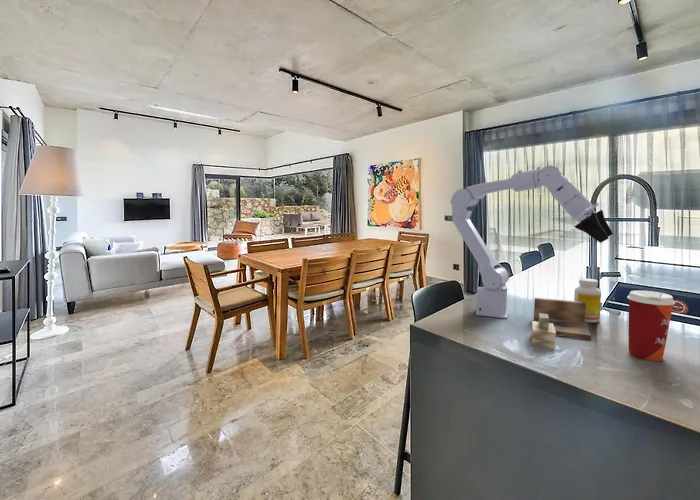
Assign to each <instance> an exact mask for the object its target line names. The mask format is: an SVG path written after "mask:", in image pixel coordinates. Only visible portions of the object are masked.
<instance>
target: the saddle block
mask: <svg viewBox="0 0 700 500" xmlns="http://www.w3.org/2000/svg"><path fill="white" fill-rule="evenodd" d="M556 337H557V335H556V332H555V328H554V325H553V323H549V317H548V314H542V313H539V322H537V321H534V320H532V321H531V344H532V346H539V347H546V348H551V349H556V341H557V340H556Z"/></svg>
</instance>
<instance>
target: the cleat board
mask: <svg viewBox="0 0 700 500" xmlns="http://www.w3.org/2000/svg"><path fill="white" fill-rule="evenodd" d="M533 303H534V304H533V321H537V322H539V313H542V314H548V317H549V323H553V325H554V328H555V332H556V336H560V337H568V338H576V339H583V340H584V339H585V340H592V334H591V332H590V330H589V328H588V326H587V325H586V322H585V309H586V303H585V302H580V301H574V300H567V299H555V298H544V297H534V302H533Z"/></svg>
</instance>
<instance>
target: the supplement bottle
mask: <svg viewBox="0 0 700 500" xmlns="http://www.w3.org/2000/svg"><path fill="white" fill-rule="evenodd" d="M578 284H579V285H578V286H576V287H575V288H574V295H573V296H574V297H573V298H574V299H573V301H580V302H585V303H586V309H585V323H589V324H590V323H591V324H595V323H598V322H599V321H600V314H601V313H600V312H601V301H602V300H601V296H602V291H601V290H600V289H599V288H598V287H597V286H598V285H599V281H598V279H594V278H585V277H584V278H579V280H578Z"/></svg>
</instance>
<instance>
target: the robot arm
mask: <svg viewBox="0 0 700 500" xmlns="http://www.w3.org/2000/svg"><path fill="white" fill-rule="evenodd" d="M541 187H546V189H547V191H548V192H549V193H550V194H551V196H552V197H553V198H554V199H555V201H556V202H558V204H559V205H560V206H561V207H562V209H564V211H565V212H566V213H567V214H568V215H569V216H570V218H572V220H573V221H574V222H575V221H576V222H577V224H576V225H574V228H576V229H577V230H579V231H581V232H584V233H585V234H587V235H589V236H590V237H592V239H594V240H596V241H597V242H599V243H600V244H601V243H604V242H605V241H607V240H608V239H609V237H610V236H612V235H613V234H614V233H613V230H612V229H611V228H610V225H608V222H607V220H606V218H605V214H604V210H602V209H601V210H599V211H597V212H596V211H595V209H596V207H598V206H600V203H599V202H596V203H594V204H593V203H591V201H590V200H589V199H588V198H587V197H586V196H585V195H584V194H583V193H582V192H581V191H580V190H579V189H578V188H577V186H576V185H574V183H572V181H570V180H569V179H568V178H567V177H566V176H565V175H563V172H562V170H561V169H560V168H559V167H557V166H553V165H547V166H544V167H541V166H537V167H536V169H535V168H534V169H531V170H526V171H524V170H523V169H520V170H517V172H516V173H513V174H512V176H511V177H510V178H508V179H507V178H506V179H500V180H496V181H495V180H494V181H489V182H483V183H477V184H473V185H470V186H466V187H465V188H459V189H457V190H456V191H455V192H454V193H453V194H452V197H451V199H450V202H449V203H450V205H451V216H452V217H451V219H452V222H453V224H454V226H455V228H456V229H457V231H458V233H459V234H460V236H461V238H462V239H463V241H464V243H465V244H466V245H467V247H468V249H469V250H470V253H471V254H472V256H473V258H474V260H475V261H476V263H477V264H478V271H479V273H480V276H481V282H482V284H483V286H478V287H477V289H476V303H475V308H476V309H475V310H476V311H475V315H476V316H483V317H491V318H498V319H499V318H500V319H508V316H509V315H508V314H509V310H508V309H507V308H508V307H507V306H508V305H507V304H508V303H507V302H508V287H507V285H506V283H507V282H508V281H509V279H510V273H509V271H508V270H507V269H506V268H505V267H503V266H502V265H501V264H500V262H499V261H498V260H497V259H495V258H494V257H493V255H492V254H491V252H490V250H489V248H488V247H487V245H486V243H485V242H484V240H483V238H482V237H481V236H480V234H479V232H478V230H477V228H476V227H475V226H474V224H473V222H472V220H471V215H472V213H473V210H474V209H475V208H476V207H477V205H478V204H479V202H480V200H483V199H484V198H485V196H486V195H488V194H492V193H496V192H497V193H498V192H501V191H506V190H513V191H514V192H516V193H518V192H525V191H531V190H535V189H536V190H537V189H540V188H541Z"/></svg>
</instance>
